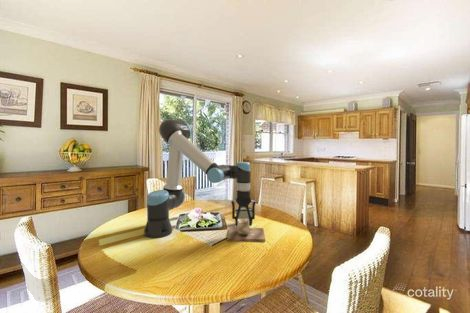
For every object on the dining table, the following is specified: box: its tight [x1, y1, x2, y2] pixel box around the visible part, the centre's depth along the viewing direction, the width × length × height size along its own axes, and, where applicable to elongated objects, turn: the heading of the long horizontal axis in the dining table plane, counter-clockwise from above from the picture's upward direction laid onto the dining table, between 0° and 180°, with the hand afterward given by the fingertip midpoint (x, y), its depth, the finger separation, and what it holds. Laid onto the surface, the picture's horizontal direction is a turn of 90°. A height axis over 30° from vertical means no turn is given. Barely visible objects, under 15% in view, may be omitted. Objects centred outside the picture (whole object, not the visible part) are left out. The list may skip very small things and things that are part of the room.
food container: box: [235, 206, 254, 226], centre depth 153 cm, size 12×6×10 cm, turn 84°
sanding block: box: [239, 219, 248, 235], centre depth 133 cm, size 5×9×6 cm, turn 178°
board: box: [226, 226, 266, 243], centre depth 133 cm, size 20×16×1 cm
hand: (243, 231), depth 133 cm, fingers closed on sanding block, 5 cm apart
